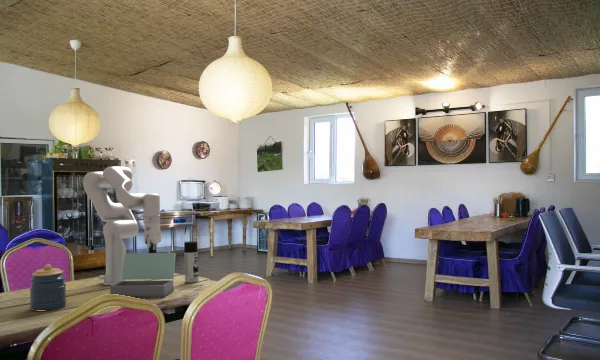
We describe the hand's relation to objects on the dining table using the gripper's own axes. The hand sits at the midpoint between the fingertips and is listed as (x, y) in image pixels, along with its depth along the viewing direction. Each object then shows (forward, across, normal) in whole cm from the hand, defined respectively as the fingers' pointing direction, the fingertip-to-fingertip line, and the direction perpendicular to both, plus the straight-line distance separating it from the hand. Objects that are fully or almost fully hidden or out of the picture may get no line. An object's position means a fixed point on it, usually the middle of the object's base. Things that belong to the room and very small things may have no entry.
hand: (152, 258), depth 221 cm
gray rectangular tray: (+14, -12, 0) cm, 19 cm away
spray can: (+14, +16, -14) cm, 25 cm away
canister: (+14, -34, +30) cm, 48 cm away
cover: (+3, -5, 0) cm, 6 cm away
